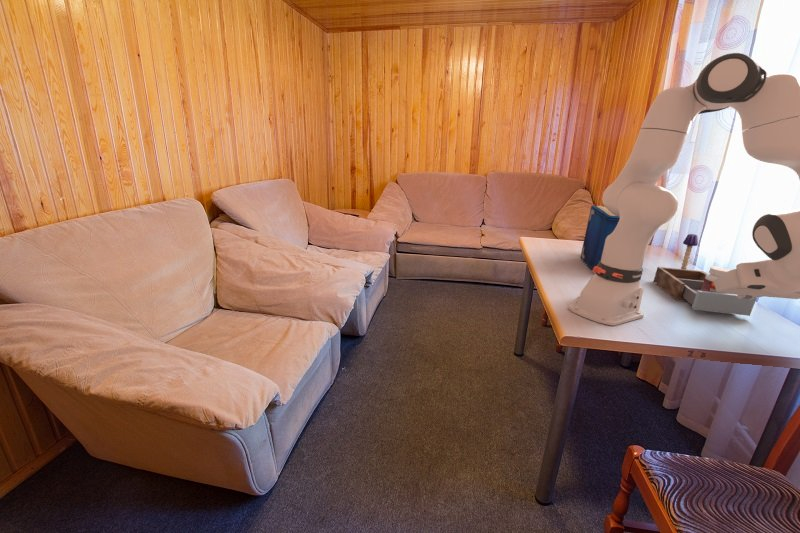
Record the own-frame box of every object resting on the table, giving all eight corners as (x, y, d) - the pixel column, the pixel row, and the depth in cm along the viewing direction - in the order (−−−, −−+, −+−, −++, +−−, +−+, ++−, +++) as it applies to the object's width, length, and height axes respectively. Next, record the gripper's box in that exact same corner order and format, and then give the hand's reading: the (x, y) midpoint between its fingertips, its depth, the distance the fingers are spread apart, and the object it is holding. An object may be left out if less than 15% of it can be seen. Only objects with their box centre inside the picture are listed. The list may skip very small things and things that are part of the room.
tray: (749, 315, 110) (756, 297, 108) (693, 309, 113) (699, 291, 111) (713, 292, 127) (718, 276, 125) (665, 287, 130) (670, 271, 128)
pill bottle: (705, 305, 114) (717, 271, 111) (693, 297, 120) (704, 265, 116) (727, 306, 114) (739, 273, 110) (713, 298, 119) (724, 266, 116)
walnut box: (727, 305, 120) (733, 288, 118) (676, 300, 123) (681, 283, 121) (697, 285, 136) (702, 271, 134) (653, 281, 139) (657, 266, 137)
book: (612, 277, 142) (627, 214, 134) (593, 275, 144) (607, 213, 136) (596, 260, 163) (608, 205, 154) (579, 259, 164) (590, 204, 156)
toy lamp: (683, 276, 146) (695, 236, 141) (671, 272, 150) (683, 233, 145) (690, 275, 148) (703, 235, 143) (678, 271, 152) (690, 232, 147)
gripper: (826, 268, 91) (783, 289, 103) (732, 262, 95) (701, 283, 107) (835, 291, 88) (789, 310, 100) (738, 284, 92) (705, 303, 104)
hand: (743, 296), depth 104 cm, fingers closed
